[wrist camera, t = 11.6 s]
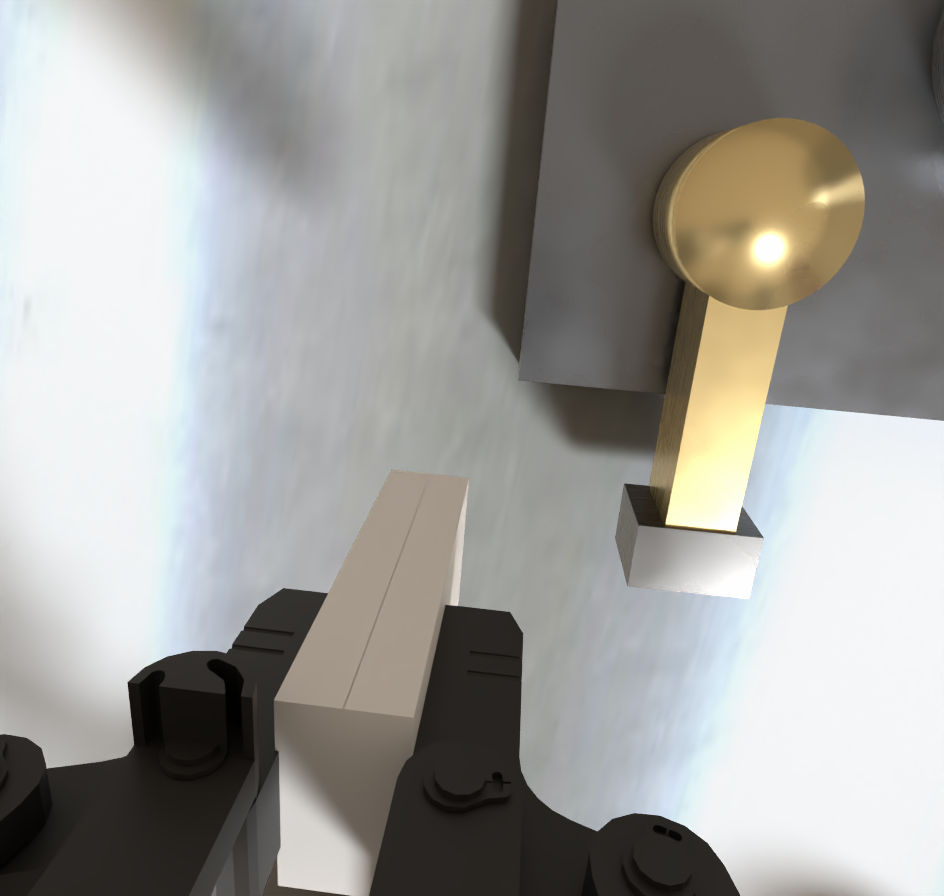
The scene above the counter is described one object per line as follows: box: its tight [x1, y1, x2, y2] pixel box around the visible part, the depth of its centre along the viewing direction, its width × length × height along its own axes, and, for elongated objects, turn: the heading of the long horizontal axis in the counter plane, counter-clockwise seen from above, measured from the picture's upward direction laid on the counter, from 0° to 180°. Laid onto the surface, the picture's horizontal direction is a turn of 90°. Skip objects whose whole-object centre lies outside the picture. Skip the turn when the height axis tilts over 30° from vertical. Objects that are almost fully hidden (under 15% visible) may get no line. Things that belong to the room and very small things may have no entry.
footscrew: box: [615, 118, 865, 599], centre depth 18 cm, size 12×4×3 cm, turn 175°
